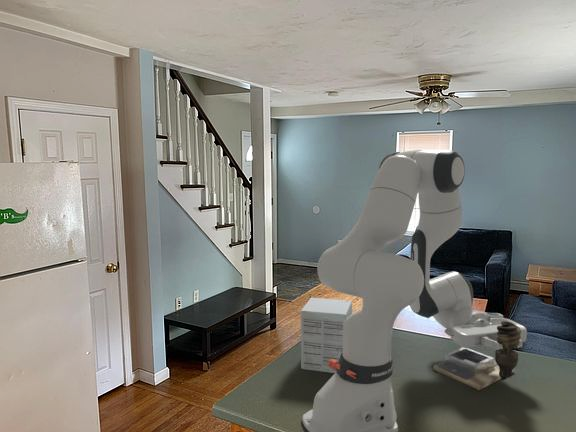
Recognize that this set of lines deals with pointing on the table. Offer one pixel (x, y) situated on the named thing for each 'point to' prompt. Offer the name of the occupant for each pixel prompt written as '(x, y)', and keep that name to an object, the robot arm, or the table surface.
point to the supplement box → (322, 332)
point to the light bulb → (507, 348)
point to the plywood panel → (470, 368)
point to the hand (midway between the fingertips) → (510, 345)
